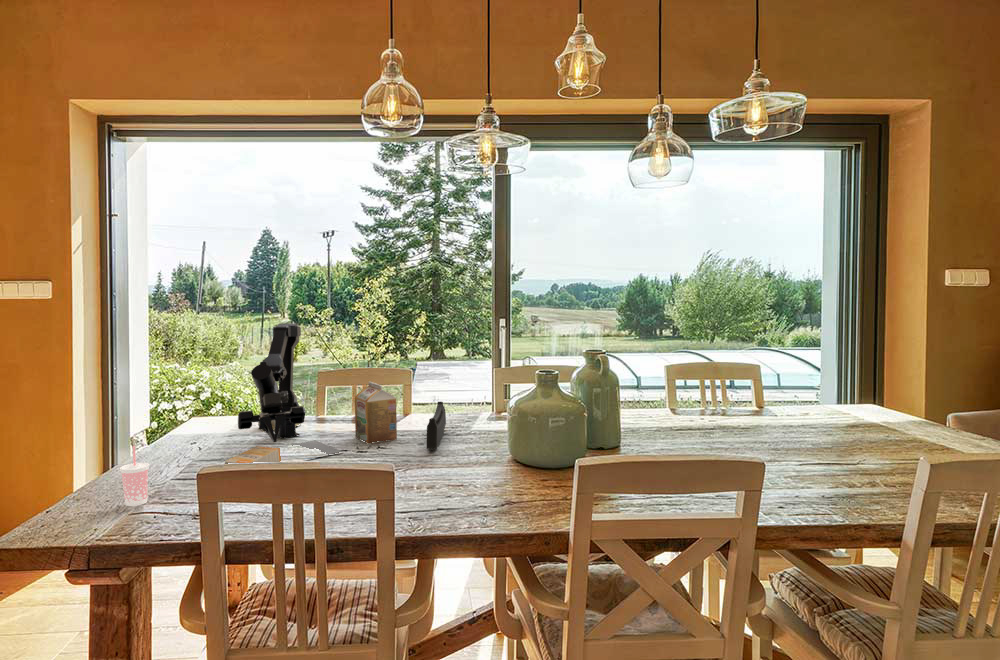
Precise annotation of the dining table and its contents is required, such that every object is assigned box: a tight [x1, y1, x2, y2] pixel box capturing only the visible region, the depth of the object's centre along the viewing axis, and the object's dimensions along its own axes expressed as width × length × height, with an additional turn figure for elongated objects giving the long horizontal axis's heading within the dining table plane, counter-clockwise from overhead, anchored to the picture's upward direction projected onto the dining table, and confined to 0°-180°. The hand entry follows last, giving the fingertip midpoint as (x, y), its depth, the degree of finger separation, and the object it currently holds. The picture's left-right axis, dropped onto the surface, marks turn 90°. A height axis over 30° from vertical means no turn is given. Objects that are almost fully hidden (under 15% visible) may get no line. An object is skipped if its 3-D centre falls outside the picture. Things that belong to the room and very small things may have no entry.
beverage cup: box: [119, 445, 150, 507], centre depth 146 cm, size 6×6×14 cm
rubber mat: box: [291, 439, 344, 455], centre depth 188 cm, size 19×25×1 cm
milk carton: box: [354, 381, 398, 444], centre depth 207 cm, size 11×11×19 cm
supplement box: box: [224, 445, 281, 465], centre depth 171 cm, size 8×5×13 cm
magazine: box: [425, 401, 447, 450], centre depth 204 cm, size 17×3×30 cm
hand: (275, 441), depth 177 cm, fingers closed
